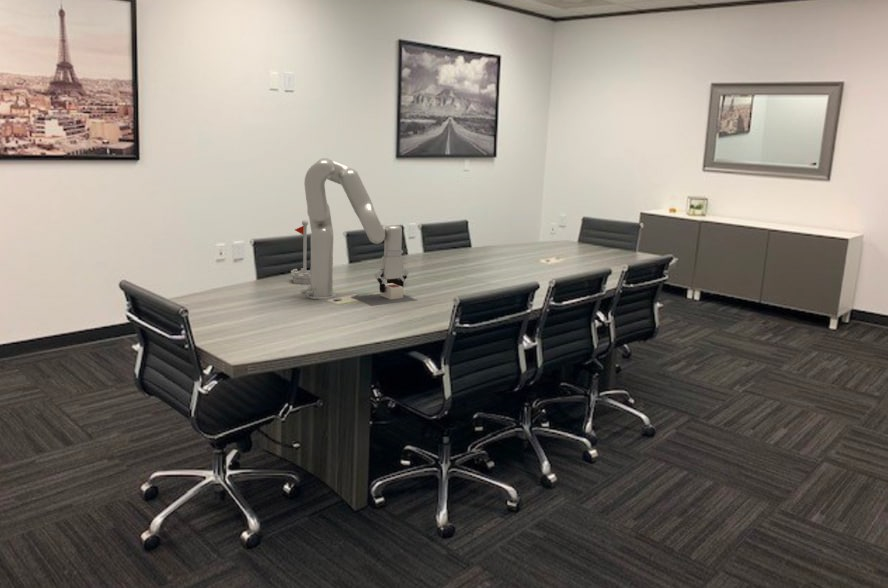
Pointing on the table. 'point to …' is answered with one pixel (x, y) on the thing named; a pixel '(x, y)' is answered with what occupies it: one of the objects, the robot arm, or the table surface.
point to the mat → (381, 299)
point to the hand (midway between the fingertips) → (391, 291)
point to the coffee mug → (392, 281)
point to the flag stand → (303, 275)
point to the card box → (392, 291)
